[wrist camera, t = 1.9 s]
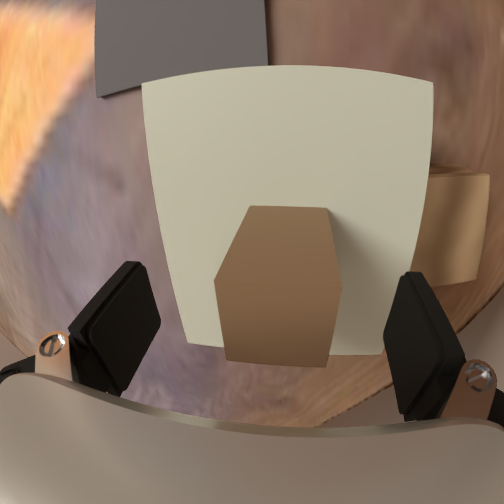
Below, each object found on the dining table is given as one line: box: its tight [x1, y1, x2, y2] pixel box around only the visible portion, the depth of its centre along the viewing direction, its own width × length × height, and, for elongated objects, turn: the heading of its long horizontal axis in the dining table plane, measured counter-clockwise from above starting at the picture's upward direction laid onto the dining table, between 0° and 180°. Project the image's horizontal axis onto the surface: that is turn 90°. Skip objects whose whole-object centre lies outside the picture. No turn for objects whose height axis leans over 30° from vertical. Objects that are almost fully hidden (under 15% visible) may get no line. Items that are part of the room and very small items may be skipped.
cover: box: [142, 65, 433, 367], centre depth 17 cm, size 13×16×20 cm
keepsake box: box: [410, 164, 490, 288], centre depth 22 cm, size 9×11×5 cm
